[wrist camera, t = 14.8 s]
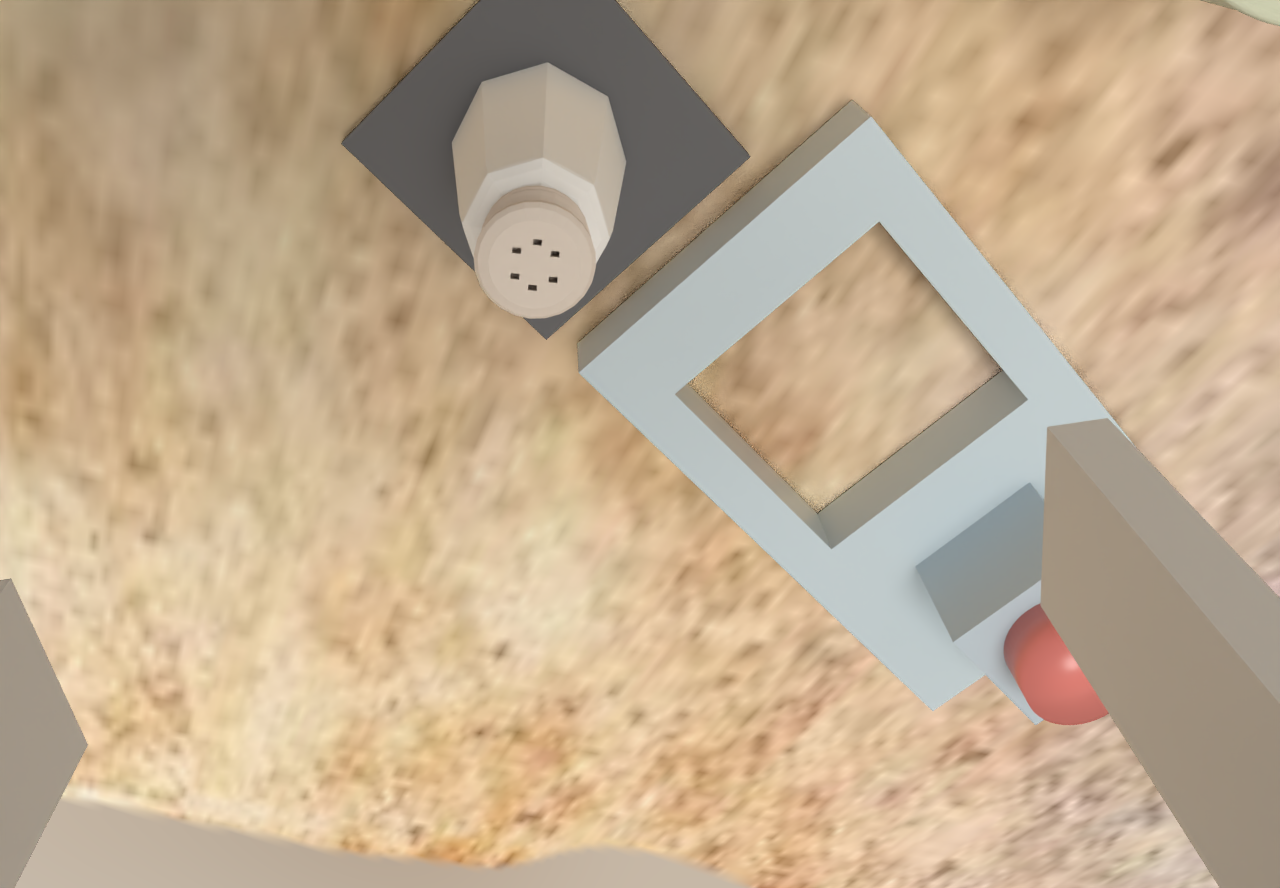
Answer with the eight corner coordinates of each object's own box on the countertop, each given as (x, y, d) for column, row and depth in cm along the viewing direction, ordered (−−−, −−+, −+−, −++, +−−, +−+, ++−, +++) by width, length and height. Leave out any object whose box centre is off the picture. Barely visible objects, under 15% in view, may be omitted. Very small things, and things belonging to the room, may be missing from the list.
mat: (344, 139, 36) (340, 143, 36) (551, -74, 34) (551, -72, 33) (546, 333, 40) (546, 339, 39) (747, 152, 37) (750, 156, 37)
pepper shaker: (616, 243, 38) (637, 383, 28) (447, 226, 37) (410, 363, 28) (636, 71, 35) (668, 160, 26) (456, 50, 35) (419, 132, 25)
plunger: (982, 642, 38) (1003, 680, 37) (1073, 577, 37) (1100, 614, 36) (1041, 702, 40) (1064, 742, 38) (1131, 641, 39) (1159, 680, 37)
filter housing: (577, 343, 40) (581, 435, 34) (852, 99, 37) (912, 152, 31) (915, 670, 48) (969, 794, 41) (1167, 492, 44) (1266, 598, 38)
